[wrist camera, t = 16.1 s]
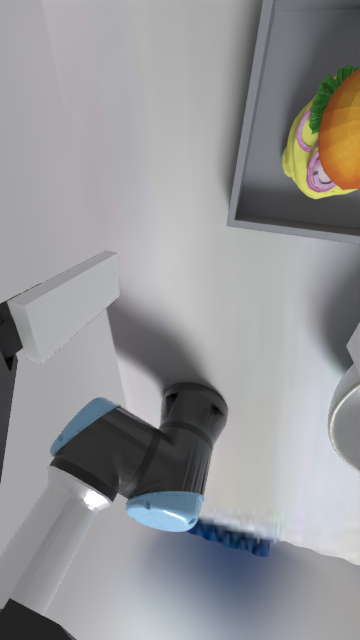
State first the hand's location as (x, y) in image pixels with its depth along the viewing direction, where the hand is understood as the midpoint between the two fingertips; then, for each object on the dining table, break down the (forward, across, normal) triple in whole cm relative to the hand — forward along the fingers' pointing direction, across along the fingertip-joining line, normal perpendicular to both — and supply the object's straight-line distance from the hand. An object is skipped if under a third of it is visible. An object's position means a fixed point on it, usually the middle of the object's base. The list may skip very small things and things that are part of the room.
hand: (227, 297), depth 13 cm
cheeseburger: (+23, -7, -9) cm, 26 cm away
